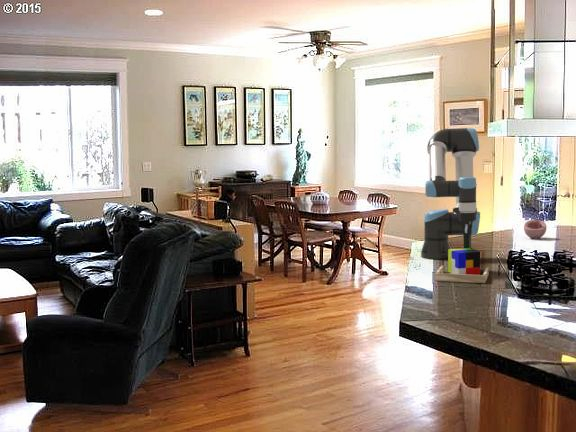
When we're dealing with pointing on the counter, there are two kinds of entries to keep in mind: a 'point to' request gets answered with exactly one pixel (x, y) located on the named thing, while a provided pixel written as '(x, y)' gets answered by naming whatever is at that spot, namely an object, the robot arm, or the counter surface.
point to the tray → (461, 276)
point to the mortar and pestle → (535, 228)
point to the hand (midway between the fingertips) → (467, 264)
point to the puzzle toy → (464, 261)
